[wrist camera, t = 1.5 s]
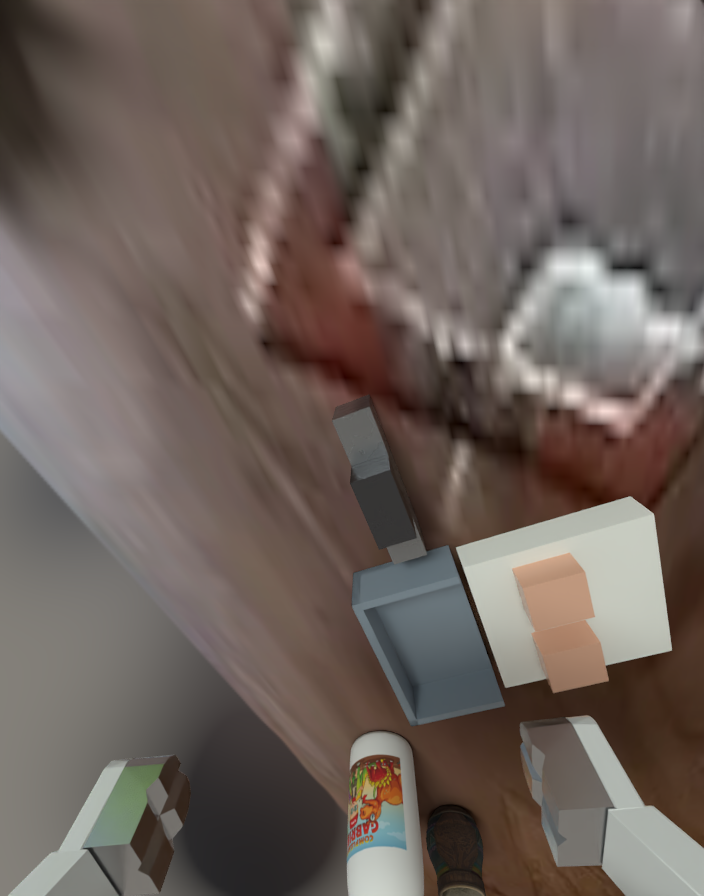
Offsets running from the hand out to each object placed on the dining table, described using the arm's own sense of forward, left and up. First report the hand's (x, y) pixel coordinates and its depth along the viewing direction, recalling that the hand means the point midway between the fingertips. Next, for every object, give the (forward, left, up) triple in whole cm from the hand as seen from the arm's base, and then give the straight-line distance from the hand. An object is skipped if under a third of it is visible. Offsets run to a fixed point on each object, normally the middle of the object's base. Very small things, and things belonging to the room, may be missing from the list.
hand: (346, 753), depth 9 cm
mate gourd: (+9, +57, -26) cm, 63 cm away
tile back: (-11, +27, -22) cm, 36 cm away
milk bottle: (+13, +41, -26) cm, 50 cm away
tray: (+1, +23, -25) cm, 34 cm away
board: (-12, +23, -25) cm, 36 cm away
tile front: (-11, +19, -22) cm, 31 cm away
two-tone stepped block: (0, +5, -26) cm, 26 cm away
